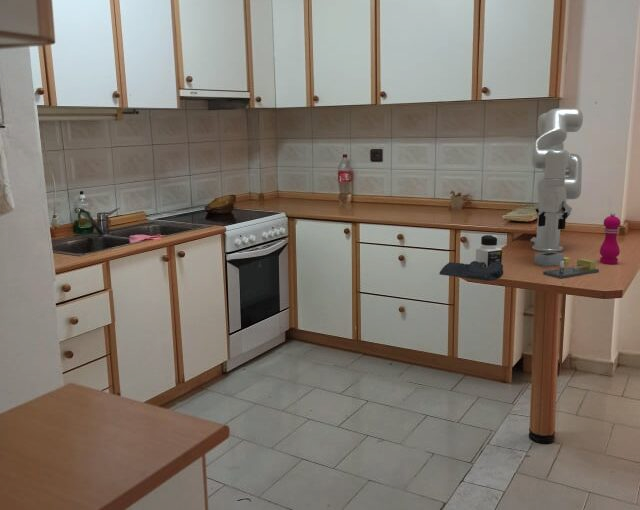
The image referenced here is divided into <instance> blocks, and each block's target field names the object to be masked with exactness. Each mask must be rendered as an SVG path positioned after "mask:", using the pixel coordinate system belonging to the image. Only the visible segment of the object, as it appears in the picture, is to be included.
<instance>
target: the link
mask: <svg viewBox="0 0 640 510" xmlns="http://www.w3.org/2000/svg"><path fill="white" fill-rule="evenodd" d="M564 257H565V254H564V253H560V252H545V251H544V252H539V253H535V254H534V265H539V266H542V267H546V268H549V267H553V266H554V265H555V266H560V261H563V259H564Z"/></svg>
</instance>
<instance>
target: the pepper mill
mask: <svg viewBox="0 0 640 510" xmlns="http://www.w3.org/2000/svg"><path fill="white" fill-rule="evenodd" d="M609 215H610V216H607V217H605V218H604V220H603V226H604V227H605V228H604V231H603V232H604V233H605V236H604V239H603V240H604V241H603V242H602V243H601V246H600V247H599V254H600V256H601V257H600V259H599V263H601V264H606V265H616V264H618V263H619V262H618V260H619V259H618V256H619V255H620V252H621V249H620V247H619V244H618V240H617V236H618V233H619V227H620V226H621V220H620V218H619V217H618V216H616V213H615V212H614V211H611V212H610V214H609Z"/></svg>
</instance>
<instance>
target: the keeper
mask: <svg viewBox="0 0 640 510" xmlns="http://www.w3.org/2000/svg"><path fill="white" fill-rule="evenodd" d="M599 272H600V269H599V268H598V269H597V260H592V259H588V258H584V257H583V258H577V261H576V266H568V267H565V264H564V261H560V265H559V268H557V269H550V270H544V271H543V273H542V274H543V275H545V276H548V277H552V278H556V279H567V278H571V277H572V278H573V277H579V276H583V275H589V274H591V275H592V274H596V273H599Z"/></svg>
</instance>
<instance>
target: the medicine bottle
mask: <svg viewBox="0 0 640 510" xmlns="http://www.w3.org/2000/svg"><path fill="white" fill-rule="evenodd" d="M498 239H499V238H498V236H496V235H493V234H492V235H491V234H486V235H483V236H481V242H480V247H476V248H475V261H478V262H484V263H485V264H486V267H489V264H491V263H494V264H495V263H496V264H502V261H503V260H502V259H503V257H502V256H503V249H502V248H501V247H498ZM502 265H503V264H502Z"/></svg>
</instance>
